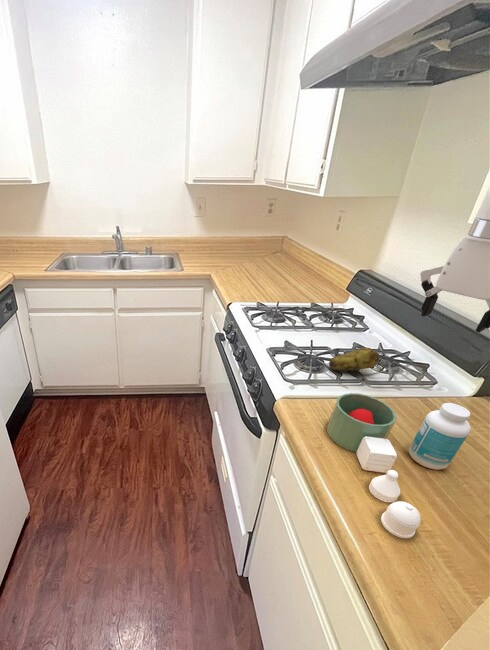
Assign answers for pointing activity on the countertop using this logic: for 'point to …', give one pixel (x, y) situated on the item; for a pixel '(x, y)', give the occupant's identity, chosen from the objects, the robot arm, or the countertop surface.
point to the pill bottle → (440, 436)
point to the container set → (387, 486)
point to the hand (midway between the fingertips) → (451, 322)
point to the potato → (355, 360)
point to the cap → (362, 415)
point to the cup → (352, 430)
